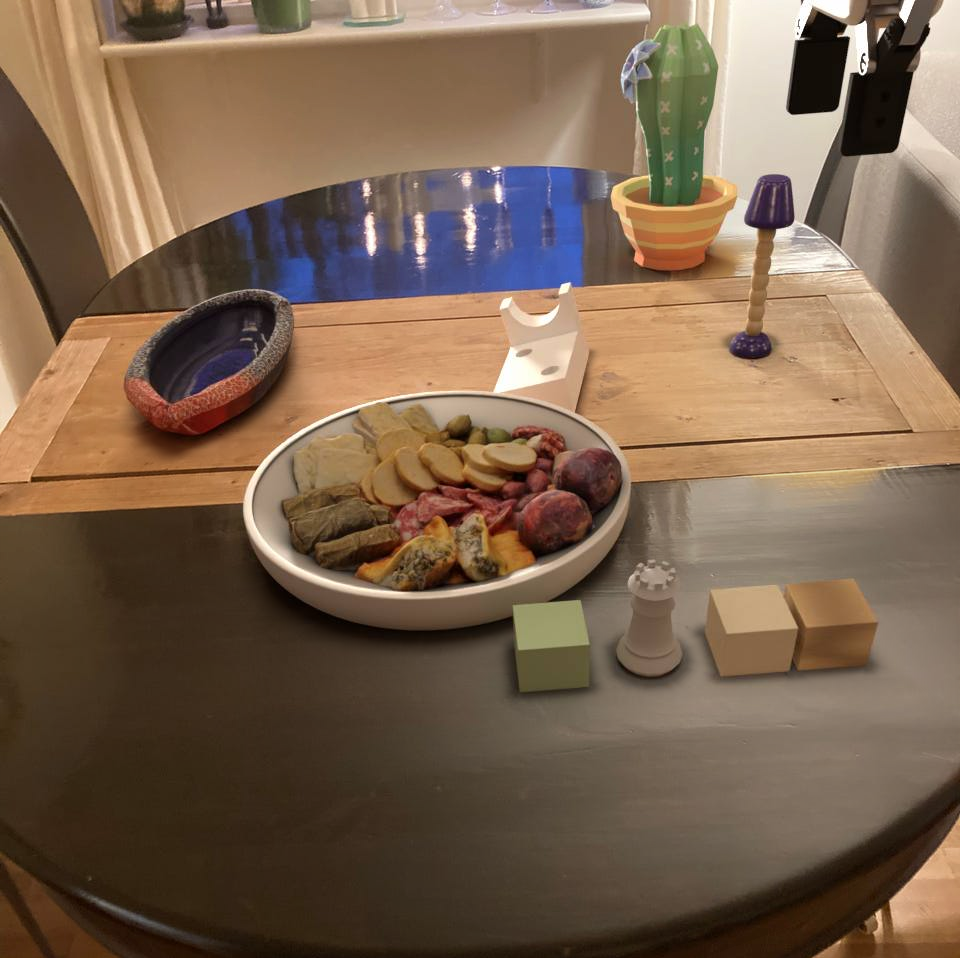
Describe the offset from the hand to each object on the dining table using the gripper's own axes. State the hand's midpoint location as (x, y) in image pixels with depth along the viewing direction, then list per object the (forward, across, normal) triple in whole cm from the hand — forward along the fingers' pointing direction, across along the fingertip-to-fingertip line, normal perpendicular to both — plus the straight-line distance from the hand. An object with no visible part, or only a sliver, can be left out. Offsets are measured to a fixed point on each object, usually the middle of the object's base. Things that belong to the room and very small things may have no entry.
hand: (837, 131), depth 57 cm
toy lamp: (+28, +32, -7) cm, 43 cm away
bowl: (+28, +3, +26) cm, 39 cm away
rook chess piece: (+28, -15, +12) cm, 35 cm away
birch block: (+28, -15, +1) cm, 32 cm away
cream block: (+28, -15, +6) cm, 33 cm away
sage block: (+28, -15, +19) cm, 37 cm away
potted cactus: (+28, +60, -4) cm, 67 cm away
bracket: (+28, +27, +16) cm, 42 cm away
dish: (+28, +34, +49) cm, 66 cm away
